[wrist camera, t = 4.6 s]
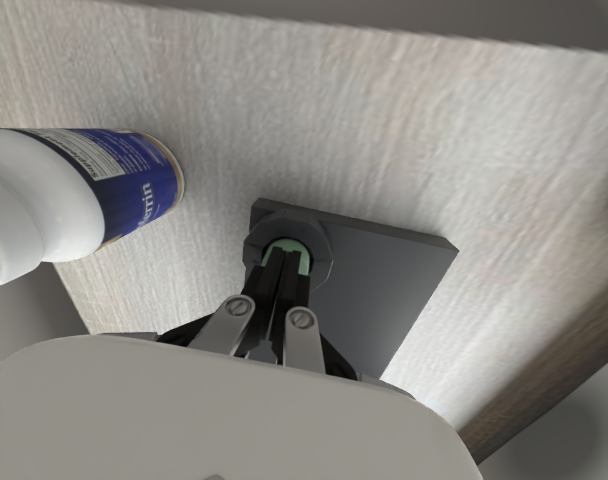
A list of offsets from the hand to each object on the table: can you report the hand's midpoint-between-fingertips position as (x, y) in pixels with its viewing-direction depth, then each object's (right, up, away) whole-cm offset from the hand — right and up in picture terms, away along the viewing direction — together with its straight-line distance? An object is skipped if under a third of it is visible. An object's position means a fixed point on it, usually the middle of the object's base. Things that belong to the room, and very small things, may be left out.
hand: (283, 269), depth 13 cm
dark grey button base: (+3, -4, +7) cm, 8 cm away
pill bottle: (-10, +7, +3) cm, 12 cm away
